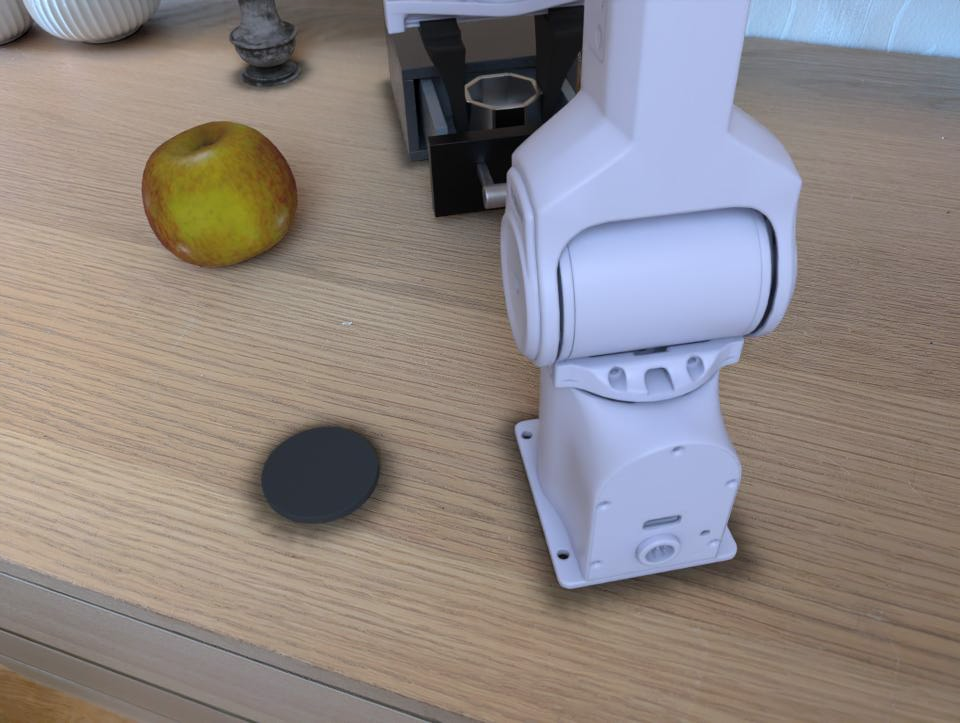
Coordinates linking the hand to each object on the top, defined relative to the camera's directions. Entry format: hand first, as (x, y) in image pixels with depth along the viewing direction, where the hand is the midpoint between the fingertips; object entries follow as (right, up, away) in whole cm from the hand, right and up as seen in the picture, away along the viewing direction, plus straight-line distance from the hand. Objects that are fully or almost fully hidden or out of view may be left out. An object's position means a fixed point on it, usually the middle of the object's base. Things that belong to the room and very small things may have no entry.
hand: (502, 124), depth 56 cm
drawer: (0, -3, +1) cm, 3 cm away
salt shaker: (-20, +9, +17) cm, 28 cm away
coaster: (-9, -22, -17) cm, 29 cm away
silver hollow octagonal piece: (0, -2, +1) cm, 2 cm away
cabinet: (-2, +4, +10) cm, 11 cm away
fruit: (-18, -9, -3) cm, 20 cm away
